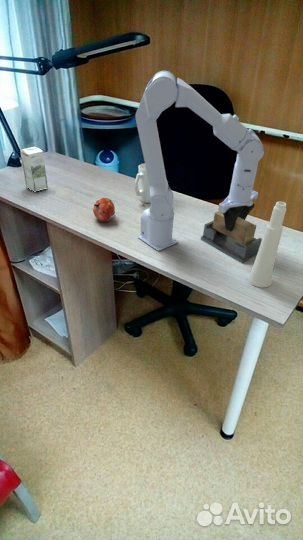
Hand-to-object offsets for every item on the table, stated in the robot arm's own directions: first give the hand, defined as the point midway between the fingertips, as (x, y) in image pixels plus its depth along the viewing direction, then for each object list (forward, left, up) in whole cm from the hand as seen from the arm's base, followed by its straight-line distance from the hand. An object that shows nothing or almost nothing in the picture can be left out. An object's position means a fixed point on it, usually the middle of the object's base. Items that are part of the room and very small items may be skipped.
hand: (233, 227), depth 101 cm
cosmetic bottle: (+15, -7, -6) cm, 18 cm away
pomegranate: (-36, -20, -6) cm, 41 cm away
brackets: (0, 0, -6) cm, 6 cm away
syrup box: (-70, -27, -6) cm, 75 cm away
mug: (-39, -1, -6) cm, 39 cm away
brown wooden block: (0, 0, -2) cm, 2 cm away
